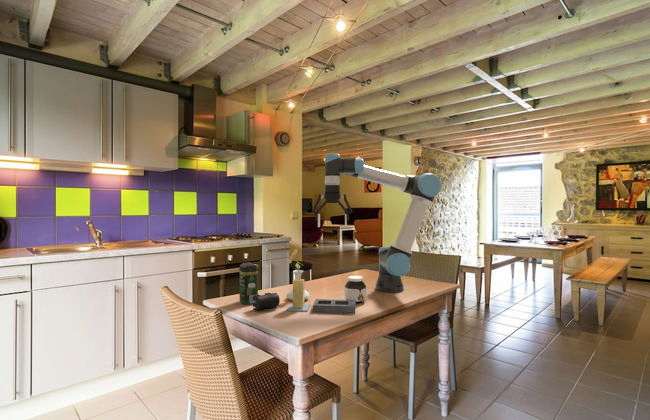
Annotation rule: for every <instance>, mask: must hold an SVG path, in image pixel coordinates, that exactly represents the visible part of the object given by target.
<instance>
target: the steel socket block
mask: <svg viewBox="0 0 650 420" xmlns="http://www.w3.org/2000/svg"><path fill="white" fill-rule="evenodd" d="M356 307H357V306H356V300H346V299H328V298H327V299H324V298H321V299H320V298H316V299H314V302H313V303H312V313H323V314H325V313H326V314H349V315H350V314H352V315H353V314H354V315H355V314H356V309H357V308H356Z"/></svg>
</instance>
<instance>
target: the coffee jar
mask: <svg viewBox="0 0 650 420" xmlns="http://www.w3.org/2000/svg"><path fill="white" fill-rule="evenodd" d="M258 275H259V266H258V265H257V264H254V263H253V262H249V261H248V262H241V264H240V265H239V302H240V303H241V304H243V305H251V306H252V305H253V303H255V304H256V301H254V300H253V296H254V295H259V284H258V278H259V277H258Z"/></svg>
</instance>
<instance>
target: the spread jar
mask: <svg viewBox="0 0 650 420" xmlns="http://www.w3.org/2000/svg"><path fill="white" fill-rule="evenodd" d="M363 279H364V278H363V276H360V275H350V276H348V277H347V282H345V284H344V288H343V289H344V294H343V295H344V298H345V299H344V300H356V304H357V305H358V304H361V303H364V302H365V301H366V300H367V286H366V283H365V282H364V281H363Z"/></svg>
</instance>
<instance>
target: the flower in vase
mask: <svg viewBox="0 0 650 420" xmlns="http://www.w3.org/2000/svg"><path fill="white" fill-rule="evenodd" d="M297 253H298V248H295V249H294V251H292V254H291V256H290V257H289V259H288V264H291V263H292V262H293V261H294V259H295V260H296V264H295V265H294V266H295V267H296V270H293V271H292V272H293V274H294V279H302V278H301V277H302V274H303V273H304V270H301V269H300V268H301V265H300V264H299V261H298V259H297V257H296V256H297ZM285 297H286V298H287V299H288V300H290V301H293V288H292V289H290V291H288V292H287V294H286V296H285ZM310 297H311V296H310V293H309V292H308V291H307V290H306V289H304V301H306V300H307V299H309V298H310Z"/></svg>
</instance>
